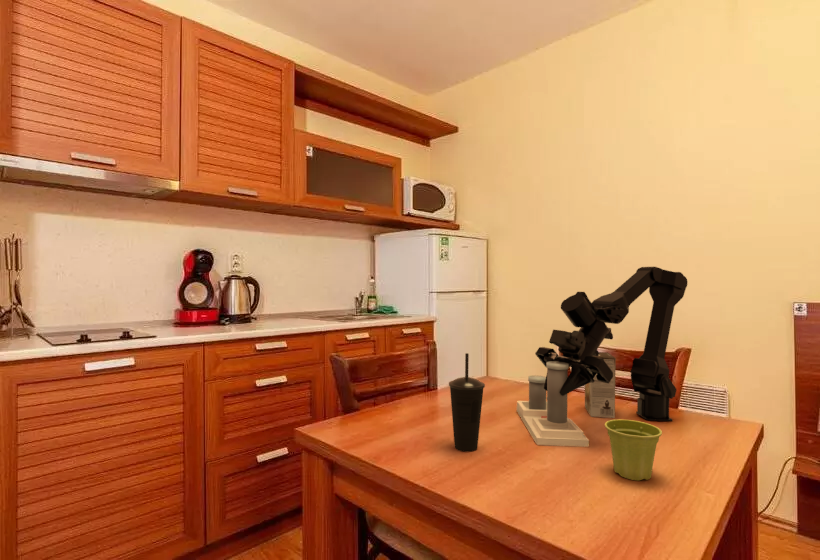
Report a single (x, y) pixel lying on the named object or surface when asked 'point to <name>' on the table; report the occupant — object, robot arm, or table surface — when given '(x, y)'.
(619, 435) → the plant pot
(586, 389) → the coffee box
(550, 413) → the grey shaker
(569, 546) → the table surface
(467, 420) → the drinking cup
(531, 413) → the peg insertion board
